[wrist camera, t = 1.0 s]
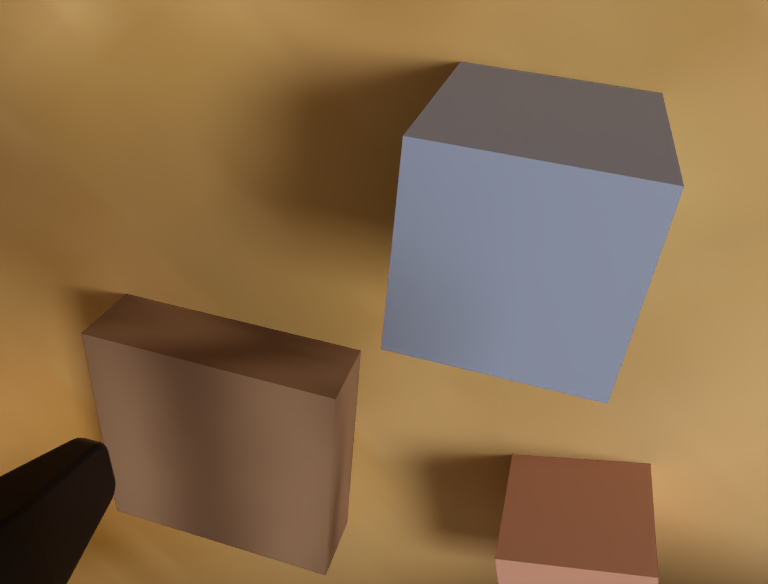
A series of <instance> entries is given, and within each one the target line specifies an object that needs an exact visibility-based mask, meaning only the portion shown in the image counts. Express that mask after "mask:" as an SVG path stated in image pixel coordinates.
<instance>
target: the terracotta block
mask: <svg viewBox="0 0 768 584" xmlns="http://www.w3.org/2000/svg"><path fill="white" fill-rule="evenodd" d="M495 563H496V570H497V578H498V584H658V565H657V551H656V536H655V522H654V507H653V493H652V478H651V464H646V463H631V462H617V461H602V460H587V459H572V458H557V457H543V456H528V455H513V454H512V460H511V466H510V472H509V478H508V484H507V490H506V496H505V502H504V508H503V514H502V520H501V526H500V532H499V538H498V544H497V550H496V556H495Z"/></svg>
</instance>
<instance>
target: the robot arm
mask: <svg viewBox="0 0 768 584" xmlns="http://www.w3.org/2000/svg"><path fill="white" fill-rule="evenodd" d="M115 486H116V481H115V476H114V472H113V468H112V464H111V460H110V455H109V451H108V448H107V447H106V446H105V444H103V443H101V442H97V441H94V440H90V439H86V438H76V439H73V440H71V441H69V442H67V443H65V444H63V445H61V446H59V447H57V448H55V449H53V450H51V451H49V452H47V453H45V454H43V455H41V456H39V457H37V458H35V459H33V460H31V461H30V462H28V463H26V464H24V465H22V466H20V467H18V468H16V469H14V470H12V471H10V472H8V473H6V474H4V475H2V476H0V584H67V582H68V580H69V579H70V577H71V575H72V573H73V571H74V569H75V567H76V566H77V564H78V562H79V560H80V558H81V556H82V554H83V552H84V551H85V549H86V547H87V545H88V543H89V541H90V539H91V538H92V536H93V534H94V532H95V530H96V528H97V526H98V524H99V523H100V521H101V519H102V517H103V515H104V513H105V511H106V510H107V508H108V506H109V504H110V502H111V500H112V498H113V495H114V492H115Z"/></svg>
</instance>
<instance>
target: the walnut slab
mask: <svg viewBox="0 0 768 584" xmlns="http://www.w3.org/2000/svg"><path fill="white" fill-rule="evenodd" d="M82 339H83V344H84V349H85V354H86V359H87V364H88V369H89V374H90V379H91V384H92V388H93V393H94V398H95V403H96V408H97V413H98V418H99V423H100V428H101V433H102V438H103V443H104V444H105V446H106V447H107V448H108V451H109V455H110V460H111V464H112V468H113V472H114V476H115V481H116V486H115V492H114V498H115V503H116V508H117V511H120V512H123V513H126V514H129V515H133V516H136V517H139V518H142V519H146V520H149V521H152V522H155V523H158V524H162V525H165V526H168V527H171V528H175V529H178V530H181V531H184V532H188V533H191V534H194V535H197V536H200V537H204V538H207V539H210V540H213V541H217V542H220V543H223V544H226V545H229V546H233V547H236V548H239V549H242V550H246V551H249V552H252V553H255V554H258V555H262V556H265V557H268V558H271V559H275V560H278V561H281V562H284V563H287V564H291V565H294V566H297V567H300V568H304V569H307V570H310V571H313V572H316V573H320V574H323V575H326V573H327V571H328V568H329V566H330V563H331V561H332V558H333V556H334V553H335V551H336V548H337V546H338V544H339V541H340V539H341V536H342V534H343V531H344V529H345V526H346V524H347V517H348V505H349V492H350V480H351V467H352V455H353V442H354V430H355V417H356V405H357V392H358V380H359V367H360V355H361V351H360V350H356V349H352V348H348V347H344V346H340V345H336V344H331V343H327V342H323V341H319V340H315V339H311V338H307V337H302V336H298V335H294V334H290V333H286V332H282V331H278V330H274V329H269V328H265V327H261V326H257V325H253V324H249V323H245V322H240V321H236V320H232V319H228V318H224V317H220V316H216V315H211V314H207V313H203V312H199V311H195V310H191V309H187V308H182V307H178V306H174V305H170V304H166V303H162V302H158V301H153V300H149V299H145V298H141V297H137V296H133V295H129V294H126V295H125V296H124V297H122V298H121V299H120V300H119V301H118V302H117V303H116V304H115V305H113V306H112V307H111V308H110V309H109V310H108V311H107V312H105V313H104V314H103V315H102V316H101V317H100V318H99V319H97V320H96V321H95V322H94V323H93V324H92V325H91V326H90V327H88V328H87V329H86V330H85V331H84V332H83V333H82Z"/></svg>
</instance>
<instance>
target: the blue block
mask: <svg viewBox="0 0 768 584" xmlns="http://www.w3.org/2000/svg"><path fill="white" fill-rule="evenodd" d="M683 188H684V184H683V180H682V176H681V172H680V167H679V163H678V159H677V154H676V150H675V146H674V141H673V137H672V133H671V128H670V124H669V120H668V115H667V111H666V107H665V103H664V98H663V94H662V93H658V92H652V91H645V90H639V89H633V88H626V87H620V86H613V85H607V84H601V83H594V82H588V81H582V80H575V79H569V78H562V77H556V76H550V75H543V74H537V73H530V72H524V71H518V70H511V69H505V68H499V67H492V66H486V65H479V64H473V63H467V62H460V63H459V64H458V66H457V67H456V68H455V70H454V71H453V72H452V73H451V75H450V76H449V77H448V79H447V80H446V81H445V82H444V84H443V85H442V86H441V88H440V89H439V90H438V91H437V93H436V94H435V95H434V97H433V98H432V99H431V100H430V102H429V103H428V104H427V106H426V107H425V108H424V109H423V111H422V112H421V113H420V115H419V116H418V117H417V118H416V120H415V121H414V122H413V124H412V125H411V126H410V127H409V129H408V130H407V131H406V133H405V134H404V135H403V140H402V150H401V160H400V169H399V179H398V189H397V199H396V208H395V218H394V228H393V238H392V248H391V257H390V267H389V277H388V287H387V296H386V306H385V316H384V326H383V335H382V345H381V349H383V350H387V351H391V352H395V353H400V354H404V355H408V356H412V357H416V358H420V359H424V360H429V361H433V362H437V363H441V364H445V365H449V366H453V367H458V368H462V369H466V370H470V371H474V372H478V373H482V374H487V375H491V376H495V377H499V378H503V379H507V380H511V381H516V382H520V383H524V384H528V385H532V386H536V387H540V388H545V389H549V390H553V391H557V392H561V393H565V394H569V395H574V396H578V397H582V398H586V399H590V400H594V401H599V402H603V403H607V404H608V401H609V399H610V396H611V393H612V390H613V387H614V384H615V381H616V379H617V376H618V373H619V370H620V367H621V364H622V362H623V359H624V356H625V353H626V350H627V347H628V344H629V342H630V339H631V336H632V333H633V330H634V327H635V324H636V322H637V319H638V316H639V313H640V310H641V307H642V305H643V302H644V299H645V296H646V293H647V290H648V287H649V285H650V282H651V279H652V276H653V273H654V270H655V268H656V265H657V262H658V259H659V256H660V253H661V250H662V248H663V245H664V242H665V239H666V236H667V233H668V230H669V228H670V225H671V222H672V219H673V216H674V213H675V211H676V208H677V205H678V202H679V199H680V196H681V193H682V191H683Z"/></svg>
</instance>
